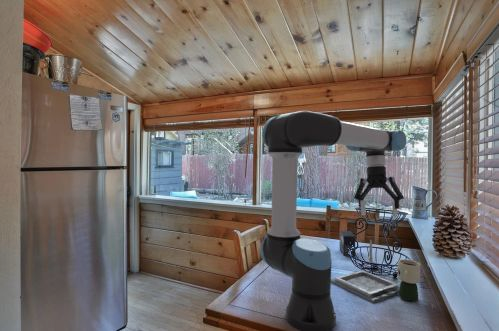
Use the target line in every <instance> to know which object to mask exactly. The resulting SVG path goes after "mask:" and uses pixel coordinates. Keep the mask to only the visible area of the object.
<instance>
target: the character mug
mask: <svg viewBox="0 0 499 331" xmlns="http://www.w3.org/2000/svg"><path fill="white" fill-rule="evenodd" d="M397 278H398V279H399V280H400V282H399V283H400V284H399V287H400V288H399V294H398V297H399V298H400V299H402V300H407V301H414V302H415V301H419V289H418V284H419V283H420V282H421V263H420V262H418V261H415V260H412V259H399V260H398V261H397Z"/></svg>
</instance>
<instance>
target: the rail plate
mask: <svg viewBox="0 0 499 331" xmlns="http://www.w3.org/2000/svg"><path fill="white" fill-rule="evenodd" d="M331 283H332V284H333V285H335V286H338V287H339V288H342V289H344V290H346V291H348V292H350V293H352V294H354V295H356V296H358V297H360V298H362V299H364V300H366V301H368V302H371V303H373V304H375V303H378V302H380V301H383V300H386V299H388V298H390V297H393V296H396V295H399V288H400V284H398V283H395V282H392V281H391V280H388V279H385V278H382V277H380V276H378V275H375V274H372V273H370V272H368V271H365V270H362V269H361V270H359V271H355V272H352V273H349V274H348V273H347V274H343V275H340V276H337V277H335V278H331Z"/></svg>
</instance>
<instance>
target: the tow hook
mask: <svg viewBox="0 0 499 331" xmlns="http://www.w3.org/2000/svg"><path fill="white" fill-rule="evenodd" d="M372 241H373V240H372V239H370V240H369V252H368V253H369V256H368V261H369V262H371V263H376V262H375V261H373V244H372V243H373V242H372Z"/></svg>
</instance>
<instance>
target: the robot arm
mask: <svg viewBox="0 0 499 331" xmlns="http://www.w3.org/2000/svg"><path fill="white" fill-rule="evenodd" d="M261 136H262V140H263V143H264V145H265V146H266V147H267V154H268V155H269V156H270V157H271V159H272V162H271V165H272V168H271V169H272V171H271V173H272V174H271V175H272V176H271V226H270V228H268V229H267V231H266V235H265V236H264V238H263V240H262V241H261V243H260V256H261V258H262V261H263V262H264V263H265V264H266V265H267V266H269V267H270V268H271V269H273V270H275V271H278V272H280V273H282V274H284V275H285V276H287V277H290V278H291V294H290V296H289V301H288V304H287V306H286V308H285V318H286V321H287V322H288V323H289V324H290V326H292V327H293V328H295V329H298V330H301V331H331V330H333V328H335V326H336V324H337V313H336V311H335V307H334V304H333V300H332V298H331V289H332V288H331V286H332V285H331V279H332V257H331V256H332V252H331V250H330V248H329V246H327V244H325V243H323V242H321V241H319V240H315V239H310V238H301V231H300V230H299V229H298V228H297V208H298V207H297V199H298V198H297V197H298V195H297V194H298V159H299V158H300V157H301V155H303V148H309V147H318V146H319V147H321V146H324V147H333V146H335V145H341V146H345V147H346V149H348V151H351V152H362V153H365V160H366V162H365V163H366V166H367V167H366V176H367V177H360V180H359V184H358V187H357V190H356V193H355V194H354V196H353V197H354V199H355V200H357V201H358V207H359V208H360V214H361V215H360V216H367V214H366V211H367V210H366V200H364V199H365V198H366V196H368V194H369V193H370V191H371V190H372V189H383V190H384V191H385V192H386V193H387V194H388V196H390V197H391V199H393V200H391V205H392V218H398V217H399V215H398V209H399V210H400V201H401V200H404V199H405V197H404V195H403V193H402V192H401V189H400V188H399V187H398V184H397V183H396V180H395V177H394V176H389V177H387V168H386V166H385V165H386V152H397V151H398V152H400V151H402V150H404V149H405V148H406V145H407V141H408V140H407V136H406V133H405V131H403V130H396V129H394V130H386V129H381V128H375V127H370V126H367V125H361V124H356V123H350V122H347V121H342V120H340V119H339V118H338V117H336V116H334V115H333V116H332V115H328V114H326V113H325V114H324V113H320V112H315V111H310V110H299V111H296V112H295V111H294V112H289V113H284V114H283V113H282V114H277V115H276V116H272V117H271V118H269V119H268V120H267V121H265V123H264V125H263V128H262V133H261ZM387 182H388V183H389V185H390V186H391V188H392V189H391V188H390V187H389V185H388V184H387ZM366 183H368V184H367V185H366ZM364 188H365V189H364Z"/></svg>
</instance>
